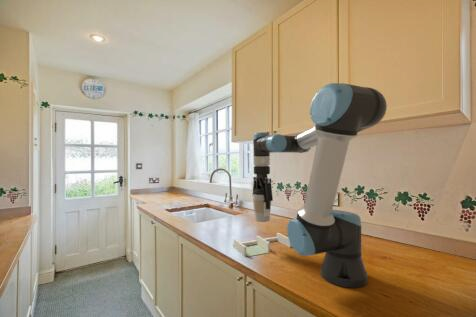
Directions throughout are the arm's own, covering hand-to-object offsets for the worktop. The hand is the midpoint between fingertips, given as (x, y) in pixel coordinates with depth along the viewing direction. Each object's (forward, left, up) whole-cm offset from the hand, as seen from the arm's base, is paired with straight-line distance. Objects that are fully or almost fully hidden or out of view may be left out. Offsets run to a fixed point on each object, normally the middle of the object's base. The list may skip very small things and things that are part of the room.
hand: (262, 213), depth 112 cm
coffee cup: (0, 0, -3) cm, 3 cm away
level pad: (0, +5, -17) cm, 17 cm away
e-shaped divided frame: (+3, -1, -17) cm, 17 cm away
